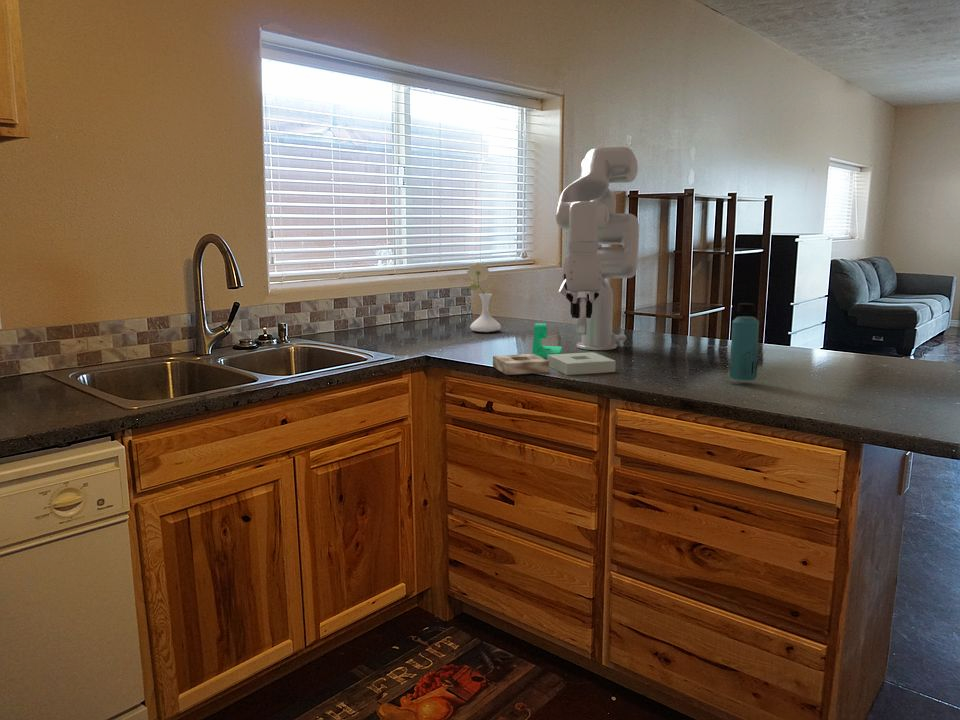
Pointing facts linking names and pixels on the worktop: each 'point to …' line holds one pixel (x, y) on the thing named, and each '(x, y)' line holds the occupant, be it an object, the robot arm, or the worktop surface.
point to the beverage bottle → (744, 344)
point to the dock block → (581, 363)
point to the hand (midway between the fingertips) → (581, 317)
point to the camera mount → (538, 349)
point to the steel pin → (581, 317)
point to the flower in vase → (485, 320)
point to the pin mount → (520, 364)
